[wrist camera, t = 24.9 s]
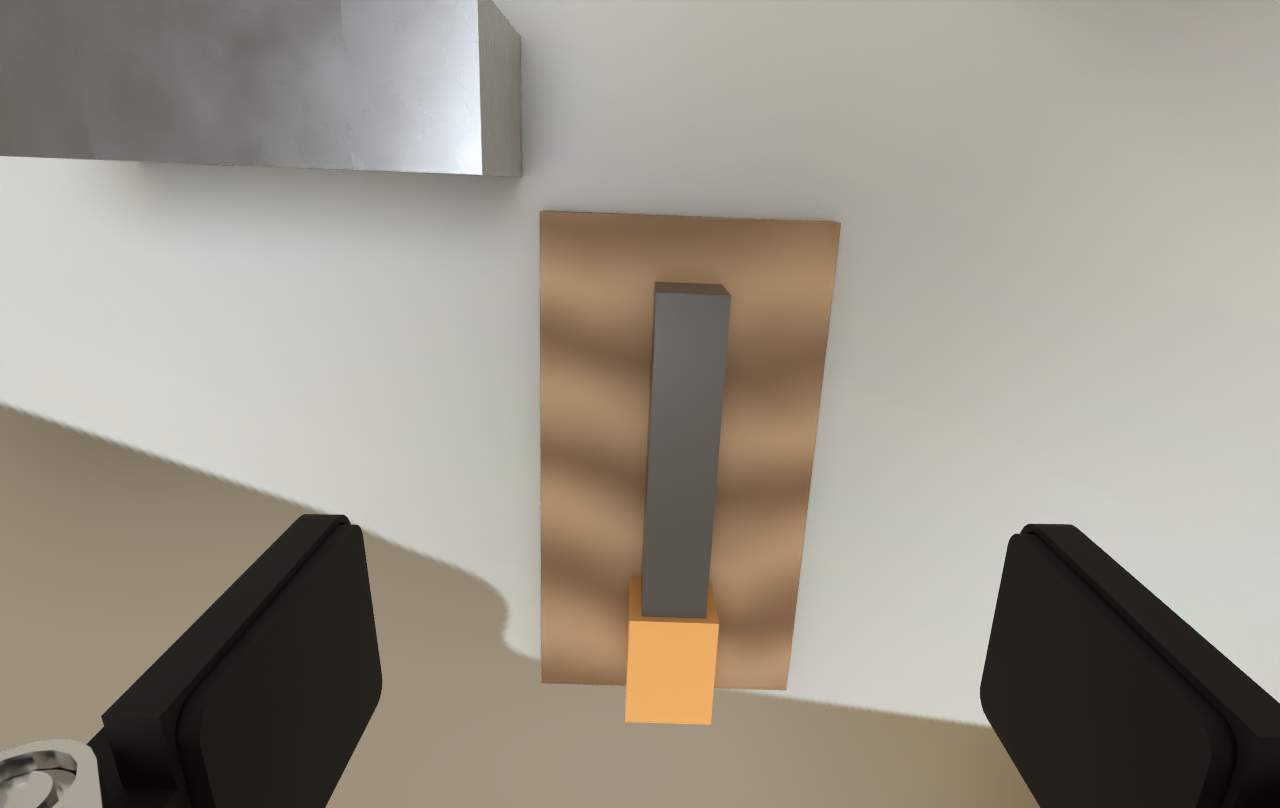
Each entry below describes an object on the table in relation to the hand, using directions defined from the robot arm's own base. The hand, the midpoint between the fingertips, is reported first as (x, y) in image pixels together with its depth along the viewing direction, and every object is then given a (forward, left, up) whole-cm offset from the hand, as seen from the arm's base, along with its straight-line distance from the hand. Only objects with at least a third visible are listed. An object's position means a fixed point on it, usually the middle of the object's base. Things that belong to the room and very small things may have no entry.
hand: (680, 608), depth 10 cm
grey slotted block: (+18, 0, -26) cm, 32 cm away
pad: (-6, +7, -26) cm, 28 cm away
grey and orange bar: (-6, +7, -25) cm, 27 cm away
